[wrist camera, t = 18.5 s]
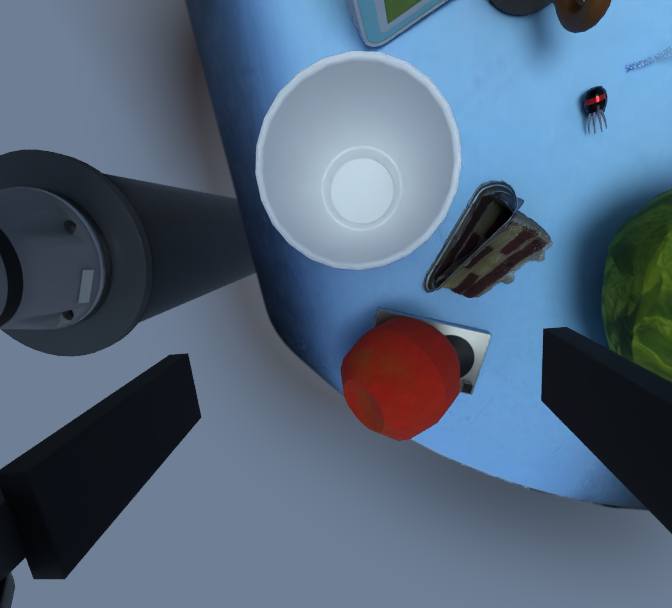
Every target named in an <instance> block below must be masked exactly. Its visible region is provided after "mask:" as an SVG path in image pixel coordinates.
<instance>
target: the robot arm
mask: <svg viewBox="0 0 672 608" xmlns="http://www.w3.org/2000/svg"><path fill="white" fill-rule="evenodd" d="M111 282H112V259H111V254H110V250H109V247H108V244H107V241H106V239H105V237H104V235H103V233H102V231H101V229H100V228H99V226H98V225H97V223H96V222H95V220H94V219H93V218H92V217H91V215H90V214H89V213H88V212H87V211H86V210H85V209H84V208H82V207H81V206H80V205H79V204H78V203H76V202H75V201H73V200H72V199H70V198H68V197H67V196H65V195H63V194H60V193H58V192H55V191H51V190H47V189H41V188H31V187H11V188H6V189H1V190H0V329H31V330H49V329H60V328H64V327H67V326H70V325H73V324H76V323H79V322H82V321H84V320H86V319H88V318H89V317H91V316H92V315H93V314H94V313H96V312H97V311H98V310H99V308H100V307H101V306H102V305H103V303H104V301H105V300H106V298H107V295H108V293H109V290H110V287H111ZM541 401H542V402H543V403H544V404H545V405H546V406H547V407H548V408H549V409H550V410H551V411H552V412H553V413H554V414H555V415H556V416H557V417H558V418H559V419H560V420H561V421H562V422H563V423H564V424H565V425H566V426H567V427H568V428H569V429H570V430H571V431H572V432H573V433H574V434H575V435H576V436H577V437H578V438H579V439H580V440H581V441H582V442H583V444H584V445H585V446H586V447H587V448H588V449H589V450H590V451H591V452H592V453H593V454H594V455H595V456H596V457H597V458H598V459H599V460H600V461H601V462H602V463H603V464H604V465H605V466H606V467H607V468H608V469H609V470H610V471H611V472H612V473H613V474H614V475H615V476H616V477H617V478H618V479H619V480H620V481H621V482H622V483H623V484H624V485H625V486H626V487H627V488H628V489H629V490H630V492H631V493H632V494H633V495H634V496H635V497H636V498H637V499H638V500H639V501H640V502H641V503H642V504H643V505H644V506H645V507H646V508H647V509H648V510H649V511H650V512H651V513H652V514H653V515H654V516H655V517H656V518H657V519H658V520H659V521H660V522H661V523H662V524H663V525H664V526H665V527H666V528H667V529H668V530H669V531H670V532H671V533H672V382H670V381H668V380H666V379H664V378H662V377H660V376H659V375H657V374H655V373H653V372H651V371H649V370H647V369H645V368H643V367H641V366H640V365H638V364H636V363H634V362H632V361H630V360H628V359H626V358H624V357H622V356H621V355H619V354H617V353H615V352H613V351H611V350H609V349H607V348H605V347H603V346H602V345H600V344H598V343H596V342H594V341H592V340H590V339H588V338H586V337H584V336H583V335H581V334H579V333H577V332H575V331H573V330H571V329H569V328H567V327H561V328H547V329H543V360H542V394H541ZM200 418H201V413H200V409H199V404H198V399H197V394H196V389H195V385H194V380H193V375H192V370H191V365H190V361H189V356H188V354H175V355H169V356H167V357H166V358H164V359H163V360H161V361H160V362H158V363H157V364H155V365H154V366H152V367H151V368H149V369H148V370H147V371H145V372H143V373H142V374H141V375H139V376H138V377H136V378H135V379H133V380H132V381H130V382H129V383H127V384H126V385H124V386H123V387H121V388H120V389H118V390H117V391H116V392H114V393H112V394H111V395H110V396H108V397H107V398H105V399H104V400H102V401H101V402H99V403H98V404H96V405H95V406H93V407H92V408H90V409H89V410H87V411H86V412H84V413H83V414H81V415H80V416H79V417H77V418H76V419H74V420H73V421H71V422H70V423H68V424H67V425H65V426H64V427H62V428H61V429H59V430H58V431H56V432H55V433H53V434H52V435H50V436H49V437H48V438H46V439H45V440H43V441H42V442H40V443H39V444H37V445H36V446H34V447H33V448H31V449H30V450H28V451H27V452H25V453H24V454H22V455H21V456H20V457H18V458H16V459H15V460H14V461H12V462H11V463H9V464H8V465H6V466H5V467H3V468H2V469H0V608H11V604H12V599H13V594H14V590H15V584H14V579H13V576H12V574H11V571H12V570H13V569H14V568H15V567H16V566H17V565H18V564H19V563H20V562H21V561H22V560H23V559H24V558H25V557H26V559H27V562H28V565H29V567H30V570H31V573H32V575H33V578H34V579H65V578H66V577H67V576H68V575H69V574H70V572H71V571H72V570H73V569H74V568H75V566H76V565H77V564H78V563H79V562H80V561H81V559H82V558H83V557H84V556H85V555H86V553H87V552H88V551H89V550H90V548H92V546H93V545H94V544H95V542H96V541H97V540H98V539H99V538H100V537H101V536H102V534H103V533H104V532H105V531H106V530H107V529H108V527H109V526H110V525H111V524H112V522H113V521H114V520H115V519H116V518H117V517H118V515H119V514H120V513H121V512H122V511H123V509H124V508H125V507H126V506H127V505H128V504H129V502H130V501H131V500H132V499H133V497H135V495H136V494H137V493H138V492H139V491H140V489H141V488H142V487H143V486H144V485H145V483H146V482H147V481H148V480H149V479H150V478H151V476H152V475H153V474H154V473H155V472H156V470H157V469H158V468H159V467H160V466H161V464H162V463H163V462H164V461H165V460H166V458H167V457H168V456H169V455H170V454H171V453H172V451H173V450H174V449H175V448H176V447H177V446H178V444H179V443H180V442H181V441H182V440H183V438H184V437H185V436H186V435H187V434H188V432H189V431H190V430H191V429H192V428H193V426H194V425H195V424H196V423H197V422H198V421H199V419H200Z"/></svg>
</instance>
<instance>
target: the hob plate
mask: <svg viewBox="0 0 672 608" xmlns="http://www.w3.org/2000/svg"><path fill="white" fill-rule="evenodd" d="M399 317H409V318H414V319H418V320H421V321H423V322H425V323H428V324H430V325H432V326H434V327H435V328H436V329H437V330H439V331H440V332H441V333H442V334H444V335H445V336H446V337H447V339H448V340H449V341H450V342H451V344H452V345H453V346H454V348H455V349H456V352H457V355H458V359H459V362H460V392H463V393H467V394H471V395H472V393H473V390H474V387H475V384H476V381H477V378H478V375H479V372H480V369H481V366H482V363H483V360H484V357H485V354H486V351H487V348H488V345H489V342H490V339H491V336H492V335H491V334H490V333H489V332H488V331H484V330H480V329H475V328H471V327H466V326H462V325H457V324H453V323H448V322H444V321H439V320H435V319H430V318H426V317H421V316H417V315H412V314H408V313H403V312H399V311H394V310H390V309H385V308H381V307H378V309H377V313H376V317H375V321H374V325H373V328H375V327H377V326H378V325H380V324H382V323H384V322H386V321H387V320H389V319H391V318H399Z"/></svg>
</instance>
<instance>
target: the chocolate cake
mask: <svg viewBox="0 0 672 608" xmlns="http://www.w3.org/2000/svg"><path fill="white" fill-rule="evenodd" d="M523 202H524V200H523V199H522V200H521V198H517V197H516V195H515V191H514V190H513V188H512V187H511V186H510V185H508V184H507V183H505V182H504V181H502V182H501V181H500V182H499V181H490V182H487V183H485V184H483V185H481V187H480V188H478V190H476V192H475V193H474V195H473V197H472V198H471V200H470V201H468V207H467V208H466V209H464V211H463V213H462V215H461V217H460V219H459V220H458V222H457V224H456V225H455V228H454V229H453V230H452V231H451V233H450V236H449V237H448V239H446V242H445V245H444V246H443V249H442V250H441V252H440V254H438V256H437V258H436V260H435V261H434V263H433V264H432V265H431V267H430V269H429V271H427V274H426V275H427V276H425V277H426V278H425V281H424V285H423V286H424V289H425V291H426V293H428V292H429V293H430V292H433V291H435V290H439V289H440V288H441V287H444V288H450V289H451V290H452V291H453V292H455V293H458V294H461V295H464V296H465V297H468V298H473V297H480V296H481V295H483V294H484V293H486V292H488V291H489V290H491V289H492V288H493V286H495V285H496V284H498V283H499V282H504V283H505V284H509V283H511V282H513V281H514V279H515V277H514V271H516V270H518V269H519V268H521V267H522V266H523V265H524V264H525V263H527V262H528V261H533V260H534V261H543V260H544V259H545V253H544V251H545V250H547V249H548V248H550V247H551V245H552V241H551V238H550V236H549V235H548V233H547V232H546V231H545V230H544V229H543V228H542V227H541V226H539V225H538V224H537V223H536V222H535V221H534V220H532V219H531V218H528V217H527V216H526V215H524V214H523V213H521V212H520V211H518V209H519V208H520V207H521V206H522V204H523Z"/></svg>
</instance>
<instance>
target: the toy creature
mask: <svg viewBox="0 0 672 608" xmlns="http://www.w3.org/2000/svg"><path fill="white" fill-rule="evenodd" d="M669 48H671V47H669ZM667 49H668V48H666V49H665V50H664V52H663V55H664V56H665V57H668V56H670V55H671V54H672V53H671V54H670V55H667V56H666V55H665V51H666V50H667ZM657 56H658V54H657ZM657 56H656V59H657ZM649 58H651V57H649ZM649 58H647V59H646V64H650V63H651V62H650V63H647V60H648V59H649ZM652 58H653V60H654V64H655V62H656V59H654V57H653V56H652ZM640 62H642V63H641V64H642V66H644V62H643V60H642V61H640ZM629 64H632V63H629ZM629 64H628V65H629ZM635 64H637V63H635V62H634V64H633V65H634V68H635V69H637V68H636V65H635ZM628 65H627V67H628V68H631V70H632V67H630V66H628ZM642 66H640V64H639V67H642ZM631 70H630V71H631ZM627 72H629V71H627ZM583 102H584V109H585V111H586V113H587V114H588V116H589V118H588V132H589V125H590V119H591V116H593V125H594V133H595V114H597V115H598V119H599V122H600V127H601V132H602V124H601V116H600V113H601V115H602V117H603V119H604V122H605V126H606V129H607V125H606V119H605V115H604V112H605V108H606V105H607V94H606V90H605V89H604V88H603V87H602V86H597V87H594V88H591V89H590V90H588V91H587V92H586V93H585V96H584V98H583Z"/></svg>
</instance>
